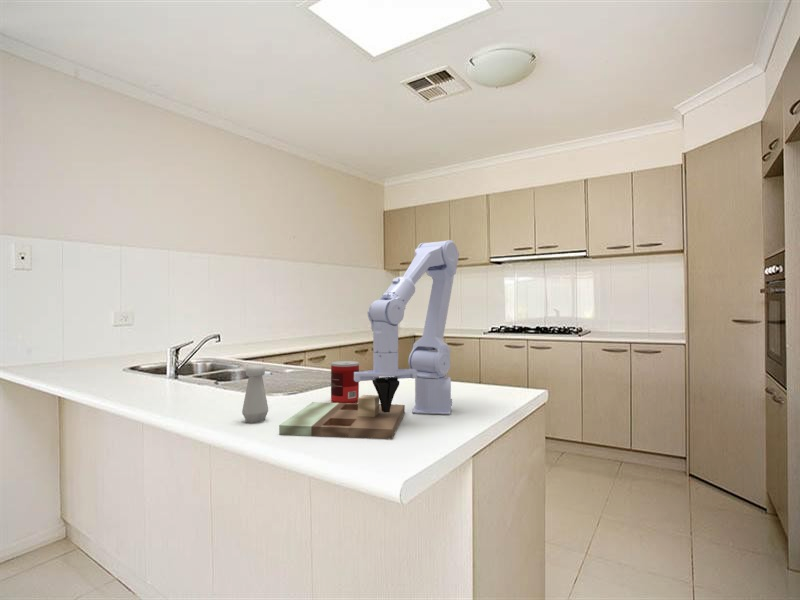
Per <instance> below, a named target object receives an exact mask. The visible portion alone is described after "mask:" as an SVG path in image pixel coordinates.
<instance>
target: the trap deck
mask: <svg viewBox="0 0 800 600" xmlns="http://www.w3.org/2000/svg"><path fill="white" fill-rule="evenodd" d="M405 406H406V405H405V404H392V403H391V407H390V412H383V411H382V409H381V403H379V413H378V414H377V415H376V416H375V417H368V416H358V402H357V403H332V402H324V401H323V402H322V401H321V402H316V401H312V402H311V403H309V404H308V405H306V406H305V407H303V408H301V409H300V410H299V411H298V412H296V413H295V414H294V415H292V416H290V417H289V418H288V419H286V420H285V421H283V422H281V424H279V425H278V430H279V431H278V434H279V436H302V437H303V436H304V437H305V436H306V437H325V438H326V437H330V438H349V439H351V438H353V439H378V440H379V439H380V440H381V439H383V440H393V438H394V436H395V434H396V432H397V429H398V427H399V425H400V424H401V421H402V419H403V417H404V415H405V413H406V412H405V410H406V409H405V408H406V407H405Z"/></svg>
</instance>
